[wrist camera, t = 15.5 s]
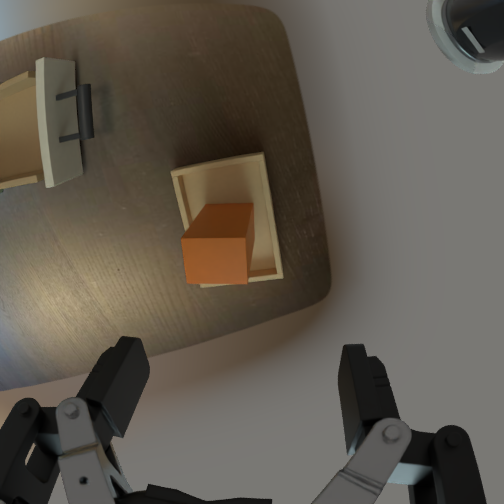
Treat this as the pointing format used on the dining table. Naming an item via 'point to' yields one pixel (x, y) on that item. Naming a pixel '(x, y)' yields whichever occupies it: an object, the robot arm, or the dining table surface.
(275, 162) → the dining table surface
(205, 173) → the tray
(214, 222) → the block
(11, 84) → the drawer
